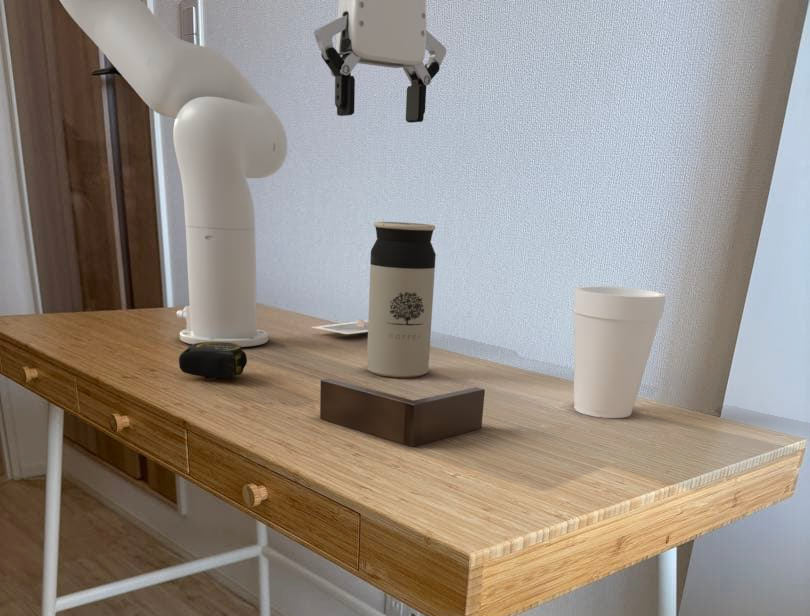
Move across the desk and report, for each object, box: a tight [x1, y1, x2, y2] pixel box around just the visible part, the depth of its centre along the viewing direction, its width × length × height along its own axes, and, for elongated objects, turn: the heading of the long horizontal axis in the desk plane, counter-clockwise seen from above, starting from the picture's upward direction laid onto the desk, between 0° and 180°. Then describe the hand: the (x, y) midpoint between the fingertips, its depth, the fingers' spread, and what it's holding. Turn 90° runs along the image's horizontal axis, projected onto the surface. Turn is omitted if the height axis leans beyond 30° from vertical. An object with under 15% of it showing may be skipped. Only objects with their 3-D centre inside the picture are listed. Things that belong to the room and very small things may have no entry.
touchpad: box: [311, 319, 368, 335], centre depth 134 cm, size 8×15×2 cm, turn 140°
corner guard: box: [319, 377, 486, 448], centre depth 83 cm, size 13×11×4 cm
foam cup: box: [571, 285, 667, 419], centre depth 91 cm, size 10×9×13 cm
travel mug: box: [366, 221, 437, 379], centre depth 104 cm, size 8×8×18 cm
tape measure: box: [178, 342, 248, 381], centre depth 99 cm, size 7×7×4 cm
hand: (380, 118), depth 101 cm, fingers open, 9 cm apart
